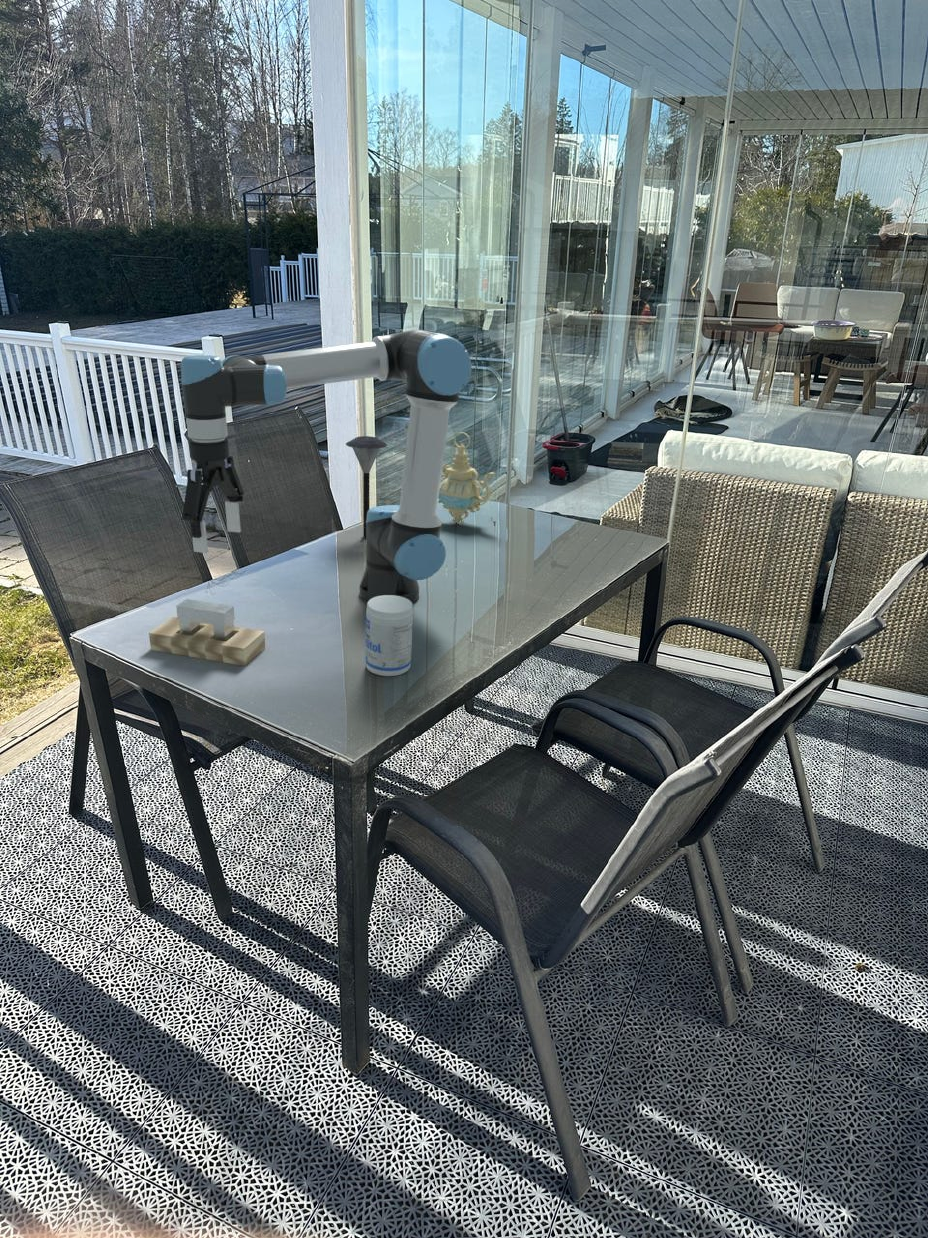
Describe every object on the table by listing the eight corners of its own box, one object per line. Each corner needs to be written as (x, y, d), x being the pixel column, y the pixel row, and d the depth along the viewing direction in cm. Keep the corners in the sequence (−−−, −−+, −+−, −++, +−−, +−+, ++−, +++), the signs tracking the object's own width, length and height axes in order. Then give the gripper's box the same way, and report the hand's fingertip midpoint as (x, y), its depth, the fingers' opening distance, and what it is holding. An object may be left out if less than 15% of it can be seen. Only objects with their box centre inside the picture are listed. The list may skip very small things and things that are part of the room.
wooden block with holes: (265, 648, 177) (264, 631, 176) (245, 666, 169) (244, 648, 168) (174, 633, 182) (172, 616, 180) (150, 649, 174) (148, 632, 172)
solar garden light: (352, 544, 243) (352, 443, 231) (341, 532, 253) (340, 434, 241) (391, 541, 248) (393, 441, 236) (379, 529, 258) (380, 433, 246)
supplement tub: (356, 667, 171) (355, 602, 165) (388, 653, 178) (389, 590, 172) (388, 682, 166) (389, 616, 160) (420, 667, 173) (422, 603, 167)
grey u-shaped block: (236, 648, 176) (233, 606, 172) (227, 656, 173) (224, 613, 169) (190, 641, 179) (186, 599, 175) (180, 648, 175) (176, 605, 171)
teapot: (417, 521, 267) (420, 429, 255) (435, 514, 276) (439, 424, 264) (481, 536, 256) (487, 440, 244) (498, 527, 266) (505, 434, 254)
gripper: (222, 425, 172) (231, 521, 181) (154, 450, 150) (168, 559, 159) (255, 427, 171) (262, 525, 179) (191, 453, 149) (203, 563, 157)
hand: (218, 541), depth 169 cm, fingers open, 13 cm apart
